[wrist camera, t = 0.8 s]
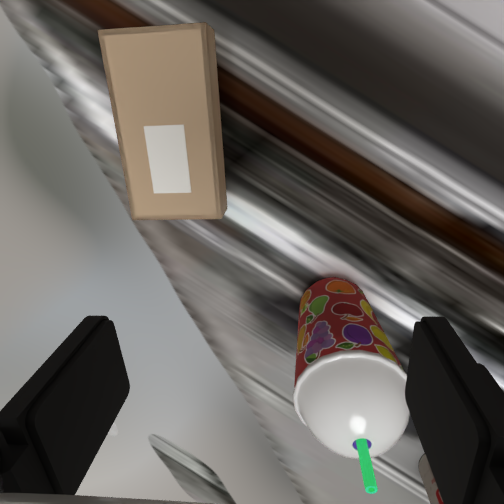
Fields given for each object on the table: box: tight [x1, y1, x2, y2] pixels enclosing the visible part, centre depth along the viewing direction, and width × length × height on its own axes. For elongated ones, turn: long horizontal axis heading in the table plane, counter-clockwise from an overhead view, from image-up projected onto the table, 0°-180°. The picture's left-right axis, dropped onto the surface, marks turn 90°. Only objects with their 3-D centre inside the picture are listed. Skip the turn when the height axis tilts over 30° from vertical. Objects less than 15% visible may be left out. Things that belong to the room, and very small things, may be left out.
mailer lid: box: [98, 22, 227, 220], centre depth 28 cm, size 13×7×3 cm, turn 3°
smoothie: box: [293, 277, 410, 494], centre depth 29 cm, size 8×8×20 cm
